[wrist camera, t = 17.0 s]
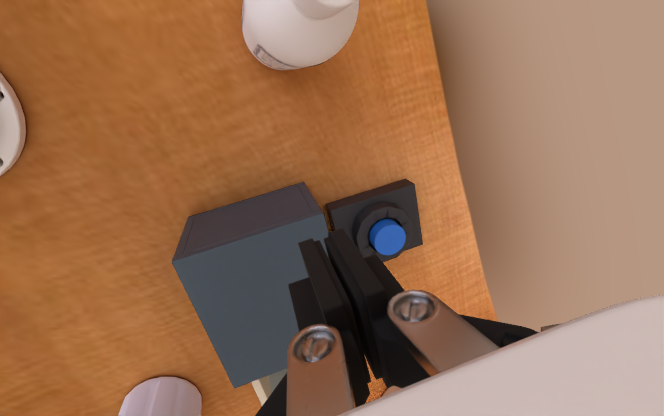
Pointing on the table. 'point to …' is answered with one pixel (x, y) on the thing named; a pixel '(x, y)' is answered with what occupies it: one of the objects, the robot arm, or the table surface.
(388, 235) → the button
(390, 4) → the table surface
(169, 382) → the soap bottle
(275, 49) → the bath foam
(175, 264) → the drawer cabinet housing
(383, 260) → the panel
